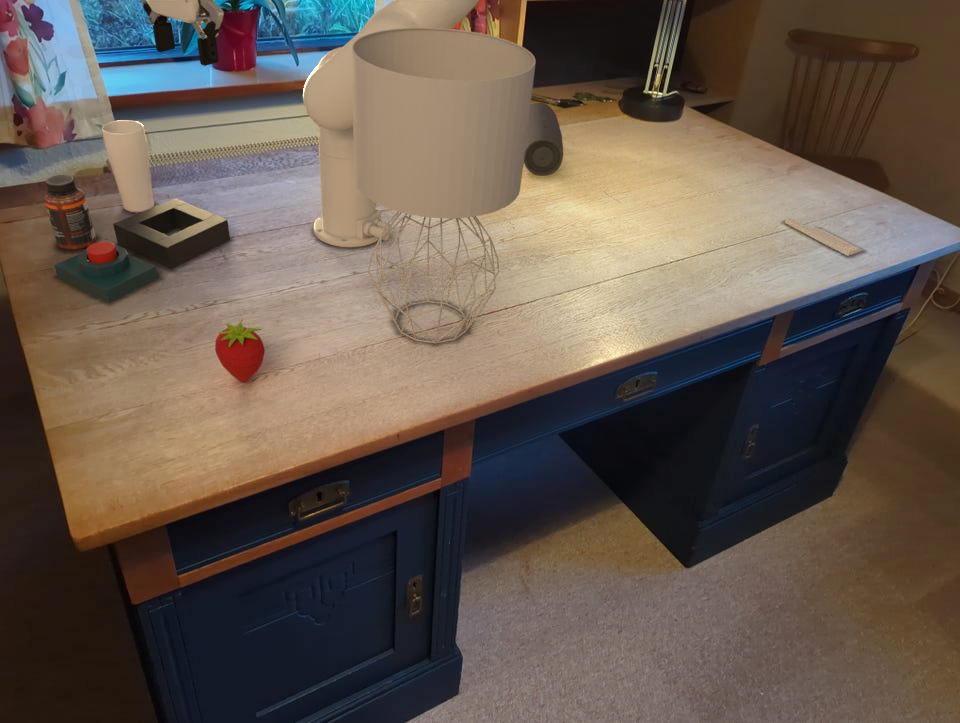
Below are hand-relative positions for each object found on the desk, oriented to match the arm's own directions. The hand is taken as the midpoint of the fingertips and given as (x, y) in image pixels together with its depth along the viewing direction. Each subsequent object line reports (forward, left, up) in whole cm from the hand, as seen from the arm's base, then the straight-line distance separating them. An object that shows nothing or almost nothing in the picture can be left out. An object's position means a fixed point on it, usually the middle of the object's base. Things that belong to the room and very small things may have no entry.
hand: (187, 56), depth 120 cm
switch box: (-3, +24, -28) cm, 37 cm away
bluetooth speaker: (-33, -65, -28) cm, 78 cm away
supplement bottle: (+10, +20, -28) cm, 36 cm away
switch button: (-3, +24, -25) cm, 35 cm away
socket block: (-2, +10, -28) cm, 30 cm away
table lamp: (-50, +3, -28) cm, 58 cm away
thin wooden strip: (-95, -70, -28) cm, 121 cm away
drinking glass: (+13, +5, -28) cm, 32 cm away
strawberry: (-38, +30, -28) cm, 56 cm away
